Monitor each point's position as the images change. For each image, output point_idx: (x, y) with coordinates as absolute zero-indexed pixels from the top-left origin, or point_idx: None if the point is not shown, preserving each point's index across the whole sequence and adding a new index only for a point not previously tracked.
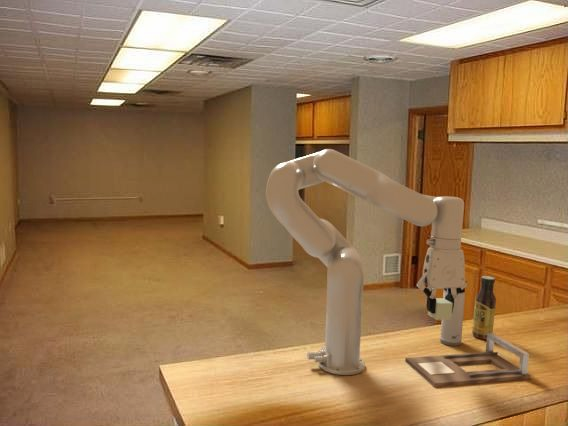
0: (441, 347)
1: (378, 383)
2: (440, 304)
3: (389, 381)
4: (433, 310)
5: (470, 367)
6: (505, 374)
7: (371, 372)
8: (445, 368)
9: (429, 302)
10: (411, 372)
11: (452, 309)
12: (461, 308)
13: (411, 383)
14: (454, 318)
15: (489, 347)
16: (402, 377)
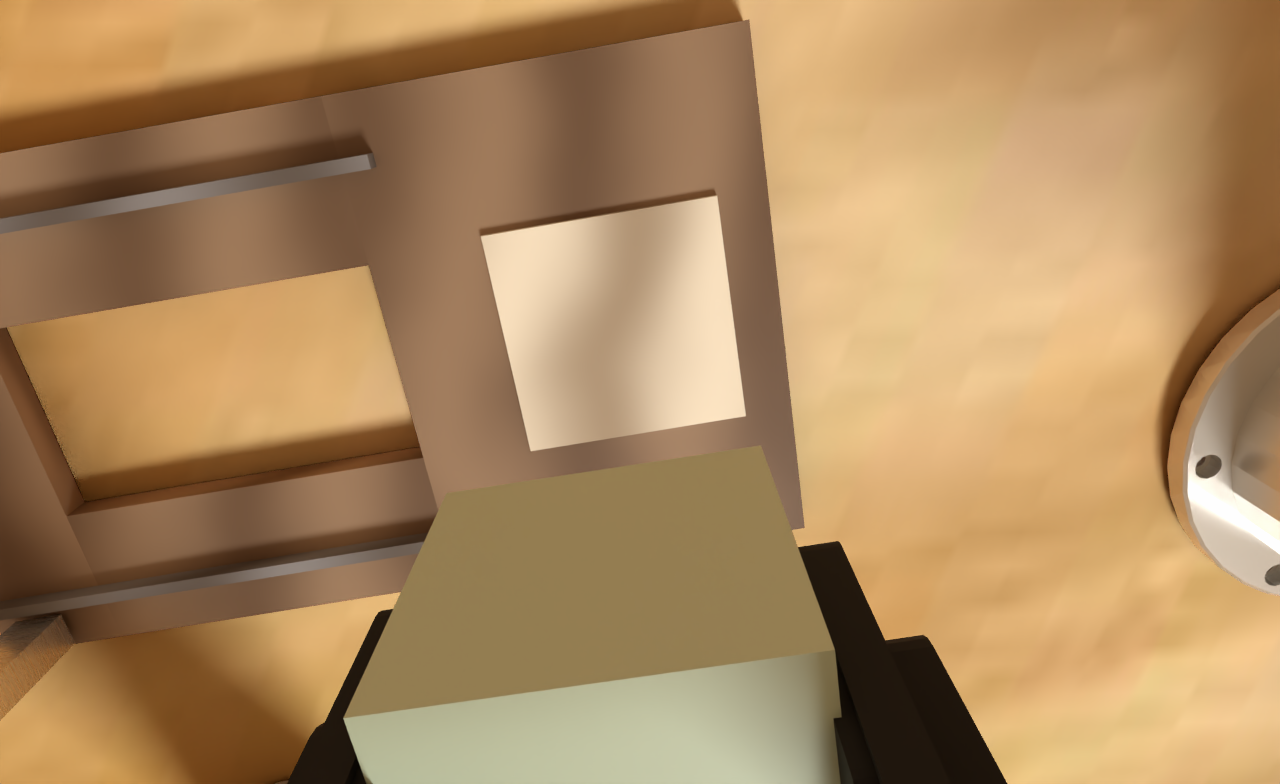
0: None
1: (1198, 102)
2: (729, 641)
3: (1087, 142)
4: (850, 570)
5: (289, 412)
6: (13, 212)
7: (1160, 313)
8: (539, 319)
9: (986, 758)
10: (828, 315)
11: (368, 650)
12: None
13: (914, 101)
14: None
15: (20, 647)
16: (943, 220)
